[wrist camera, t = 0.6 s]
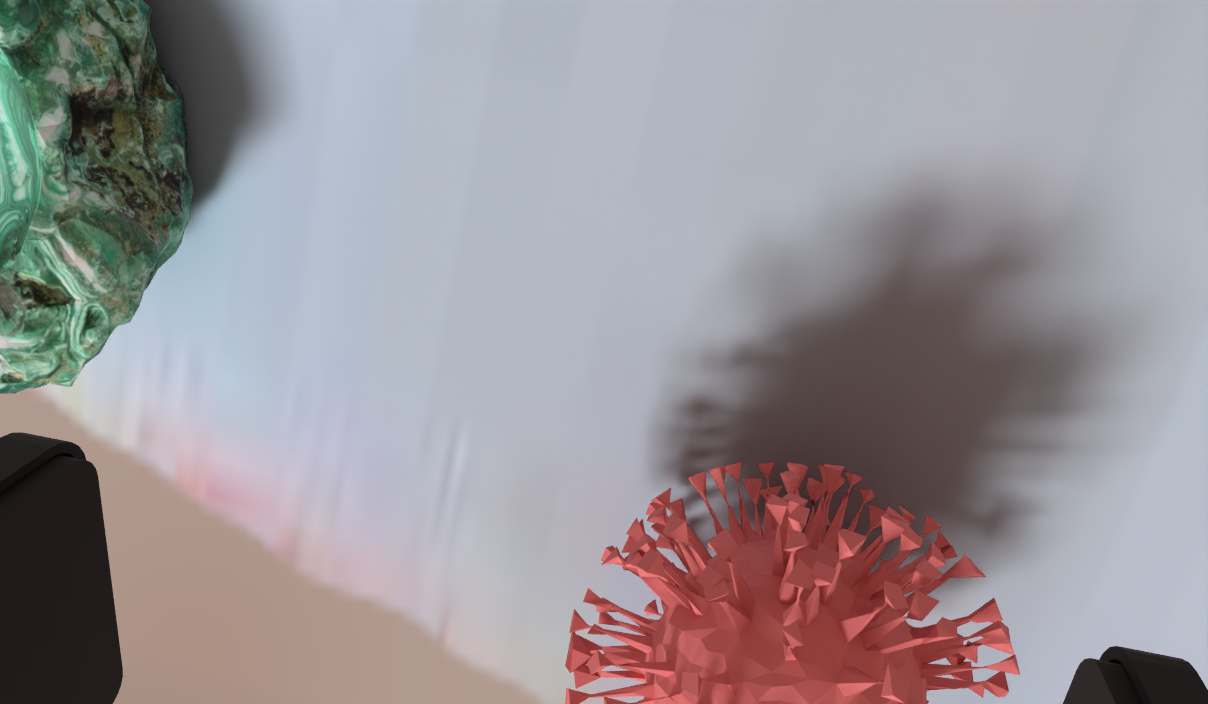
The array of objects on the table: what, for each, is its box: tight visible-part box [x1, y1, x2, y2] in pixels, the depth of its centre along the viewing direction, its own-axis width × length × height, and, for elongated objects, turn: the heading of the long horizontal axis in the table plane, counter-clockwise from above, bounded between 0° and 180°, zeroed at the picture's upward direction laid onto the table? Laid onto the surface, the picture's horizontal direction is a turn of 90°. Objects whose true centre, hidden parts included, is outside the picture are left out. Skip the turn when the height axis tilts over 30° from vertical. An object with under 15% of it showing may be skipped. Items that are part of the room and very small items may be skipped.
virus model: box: [565, 462, 1020, 704], centre depth 31 cm, size 15×15×15 cm
